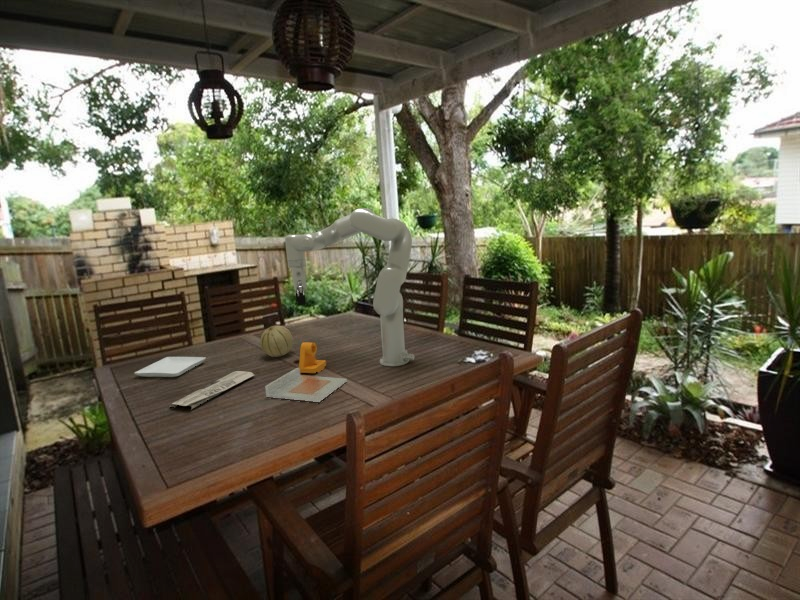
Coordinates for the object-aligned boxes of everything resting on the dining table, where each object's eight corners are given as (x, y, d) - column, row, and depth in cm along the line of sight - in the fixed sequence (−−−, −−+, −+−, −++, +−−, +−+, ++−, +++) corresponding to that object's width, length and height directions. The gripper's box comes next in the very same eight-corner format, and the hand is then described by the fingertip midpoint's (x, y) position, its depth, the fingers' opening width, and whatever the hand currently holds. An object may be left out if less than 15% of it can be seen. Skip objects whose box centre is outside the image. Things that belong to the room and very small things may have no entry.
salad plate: (177, 380, 191) (176, 372, 190) (134, 379, 195) (132, 372, 194) (208, 363, 211) (207, 356, 210) (168, 363, 215) (166, 356, 215)
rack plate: (347, 382, 174) (346, 371, 173) (319, 403, 155) (318, 391, 155) (298, 378, 182) (296, 367, 181) (266, 398, 164) (265, 386, 163)
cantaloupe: (298, 351, 220) (295, 320, 217) (288, 360, 206) (284, 328, 203) (269, 352, 222) (265, 322, 219) (257, 361, 207) (252, 329, 205)
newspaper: (233, 375, 192) (232, 367, 191) (258, 377, 188) (257, 369, 187) (166, 411, 159) (164, 401, 159) (194, 414, 155) (193, 404, 155)
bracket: (315, 375, 184) (312, 346, 182) (299, 374, 187) (296, 346, 184) (327, 366, 194) (324, 339, 192) (312, 365, 197) (309, 338, 195)
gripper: (307, 264, 188) (311, 305, 191) (304, 261, 204) (307, 298, 207) (288, 266, 186) (293, 307, 189) (286, 262, 202) (291, 300, 205)
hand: (301, 303), depth 198 cm, fingers open, 9 cm apart
